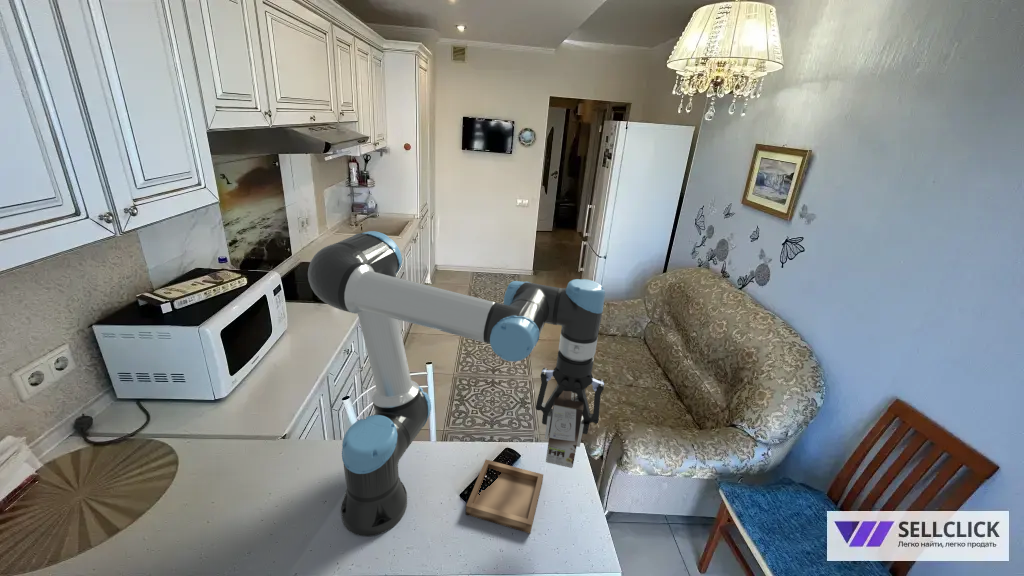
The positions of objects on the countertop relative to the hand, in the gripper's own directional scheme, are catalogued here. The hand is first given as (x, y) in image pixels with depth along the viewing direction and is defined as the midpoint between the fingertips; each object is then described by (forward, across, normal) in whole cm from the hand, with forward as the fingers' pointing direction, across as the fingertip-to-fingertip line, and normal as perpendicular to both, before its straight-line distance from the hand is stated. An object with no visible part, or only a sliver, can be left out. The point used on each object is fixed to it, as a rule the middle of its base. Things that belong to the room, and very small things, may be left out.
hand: (562, 438), depth 93 cm
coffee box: (+4, 0, 0) cm, 4 cm away
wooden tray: (+23, -12, 0) cm, 26 cm away
